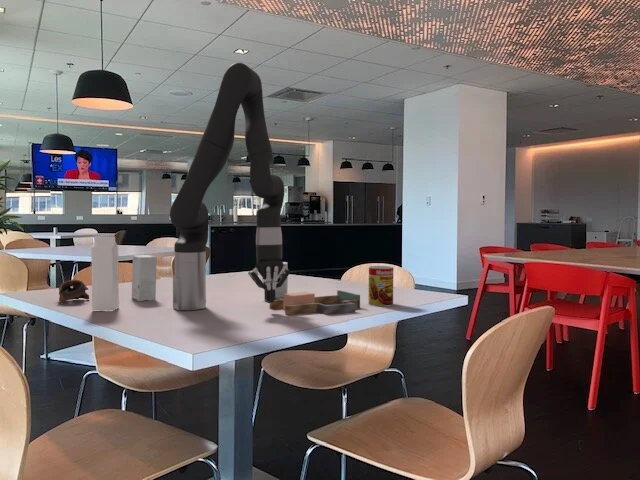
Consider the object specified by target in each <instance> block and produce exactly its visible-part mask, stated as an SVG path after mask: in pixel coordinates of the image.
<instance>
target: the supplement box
mask: <svg viewBox="0 0 640 480" xmlns="http://www.w3.org/2000/svg"><path fill="white" fill-rule="evenodd" d="M282 262H283V264H284V267H285V268H286V269H288V261H287V262H286V261H282ZM288 270H289V269H288ZM280 275H281V272H280V273H279V275H278V276H277V279H278V278H279V276H280ZM288 277H289V276H288ZM288 277H287V278H286V280H285V281H284V283H283V284H282V286H281V287H278V288H276V290H275V297H283V294H288V291H289V290H288V281H289V280H288V279H289V278H288ZM264 302H266V301H265V299H264Z"/></svg>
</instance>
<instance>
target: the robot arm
mask: <svg viewBox="0 0 640 480" xmlns="http://www.w3.org/2000/svg"><path fill="white" fill-rule="evenodd" d="M240 106H241V107H242V110H243V114H244V121H245V123H244V124H245V127H244V140H245V147H246V152H247V154H248V155H247V156H248V159H249V160H248V161H249V165H250V166H249V181H250V187H251V190H252V192H253V194H254V195H255V196H256V197H258V198H260V199H263V200H262V204H261V205H262V206H261V207H259V208H258V209H257V210H256V233H255V248H256V249H255V251H256V252H255V254H256V263H255V266H254V268H253V269H252V270H250V271H248V276H249V277H250V278H251V280H252V281H253V282H254V283H255V285H257V287H258V288H259V289H263V290H264V291H263V292H264V300H265V301H264V302H266V303H268V304H270V303H273V302H274V300H275V290H276V288H278V287H281V286H282V284H283V283H284V281H285V280H286V278H287V277H289V276H290V274H291V270H290V269H286V268H285V267H284V264H283V262H284V261H283V233H282V219H281V218H282V216H281V215H282V214H281V212H282V208H283V206H284V205H283V203H284V199H285V193H286V192H285V191H286V190H285V185H284V181H283V179H282V178H281V177H280V176H278V175H276V174H271V173H272V172H271V166H272V165H273V164H274V162H275V161H274V160H275V158H274V154H273V150H272V145H271V141H270V136H269V133H268V127H267V124H266V123H267V122H266V117H265V109H264V96H263V85H262V80H261V77H260V75H259V74H257V72H256V71H255V70H253V69H252V68H251V67H249V66H248V65H246V64H244V63H242V62H235V63H232V64H231V65H230V66H228V68H227V69H226V71H225V72H224V74H223V76H222V80H221V82H220V86H219V90H218V93H217V98H216V100H215V104H214V106H213V109H212V112H211V113H210V116H209V119H208V122H207V124H206V127H205V129H204V132H203V134H202V137H201V139H200V141H199V143H198V146H197V149H196V152H195V154H194V157H193V159H192V162H191V164H190V166H189V169H188V172H187V174H186V178H184V179H185V180H183V183H182V186H181V187H180V189H179V191H178V192H177V195H176V197H175V199H174V200H173V203H172V205H171V207H170V210H169V219H170V222H171V223H172V225H173V226H174V227H175V228H177V229H180V231H179V237H178V239H177V240H176V241H175V242H174V250H173V251H174V276H172V307H173V309H175V310H177V311H196V310H203V309H206V308H207V280H206V279H207V277H206V276H207V273H206V272H207V271H206V270H207V269H206V267H207V263H206V260H207V257H206V255H207V253H206V248H207V244H208V241H209V224H210V223H209V222H210V221H209V219H210V217H209V216H210V215H209V210H208V208H207V205H206V204H205V203H204V202H203V200H204V197H205V195H206V193H207V190H208V189H209V187H210V185H212V183H213V181H215V179H216V178H217V176H218V175H219V174H220V173H221V171H222V170H223V169H224V167H225V166H226V164H227V161H228V159H229V156H230V154H231V152H232V149H233V146H234V142H235V131H236V128H235V126H236V118H237V115H238V111H239V108H240ZM280 272H281V275H280V276H279V278H278V279H277V276H278V275H279V273H280ZM259 275H260V276H261V278H260V277H259ZM261 279H262V280H261Z"/></svg>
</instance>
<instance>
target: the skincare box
mask: <svg viewBox="0 0 640 480" xmlns="http://www.w3.org/2000/svg"><path fill="white" fill-rule="evenodd" d="M157 259H158V257H157V256H153V255H149V254H133V255H132V270H131V272H132V273H131V274H132V275H131V299H133V298H134V299H133V300H136V299H137V300H136V301H137V302H144V301H143V300H149V301H156V297H157V294H156V293H157V289H156V288H157Z"/></svg>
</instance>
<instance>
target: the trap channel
mask: <svg viewBox="0 0 640 480" xmlns="http://www.w3.org/2000/svg"><path fill="white" fill-rule="evenodd" d="M336 291H337V292H336V294H335V295H334V294H333V295H321V296H315V303H311V304H300V305H288V306H285V310H284V314H285V316H289V315H290V316H291V315H301V314H311V313H319V314H322V315H325V316H327V315H337V314H347V313H355V312H356V309H360V308H361V294H357V293H352V292H350V291H349V292H348V291H344V290H336ZM269 309H270V310H277V309H283V297H275V300H274V302H273V303H269Z"/></svg>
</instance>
